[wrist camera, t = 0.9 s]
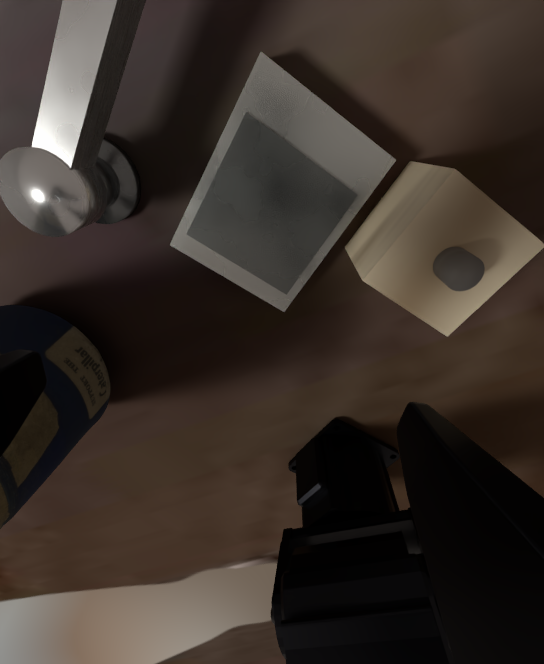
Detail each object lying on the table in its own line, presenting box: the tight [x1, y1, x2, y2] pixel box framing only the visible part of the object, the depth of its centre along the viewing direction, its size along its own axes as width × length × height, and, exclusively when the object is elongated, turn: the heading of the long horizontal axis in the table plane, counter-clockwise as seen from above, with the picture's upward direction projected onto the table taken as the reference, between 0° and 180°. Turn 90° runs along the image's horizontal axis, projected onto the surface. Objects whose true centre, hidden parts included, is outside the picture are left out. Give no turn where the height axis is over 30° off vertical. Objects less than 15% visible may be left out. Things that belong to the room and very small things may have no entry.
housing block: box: [344, 161, 544, 336], centre depth 15 cm, size 5×5×6 cm
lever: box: [0, 0, 146, 237], centre depth 11 cm, size 3×14×2 cm, turn 148°
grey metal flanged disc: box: [95, 138, 141, 224], centre depth 16 cm, size 4×4×2 cm
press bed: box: [170, 52, 396, 312], centre depth 16 cm, size 7×9×2 cm
